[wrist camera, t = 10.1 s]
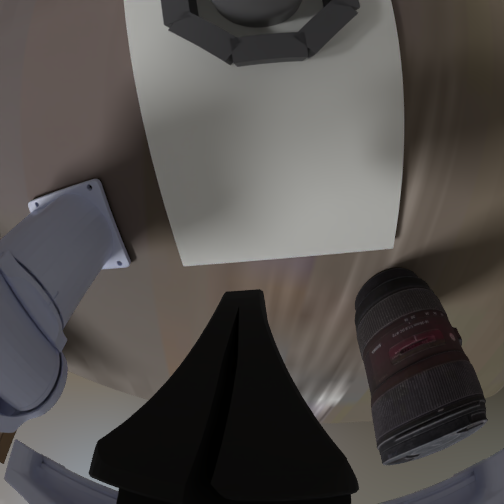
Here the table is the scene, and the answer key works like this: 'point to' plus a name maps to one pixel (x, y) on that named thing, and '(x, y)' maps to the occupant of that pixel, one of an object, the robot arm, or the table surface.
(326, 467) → the robot arm
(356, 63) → the board
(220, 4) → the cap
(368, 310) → the camera lens
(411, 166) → the table surface
